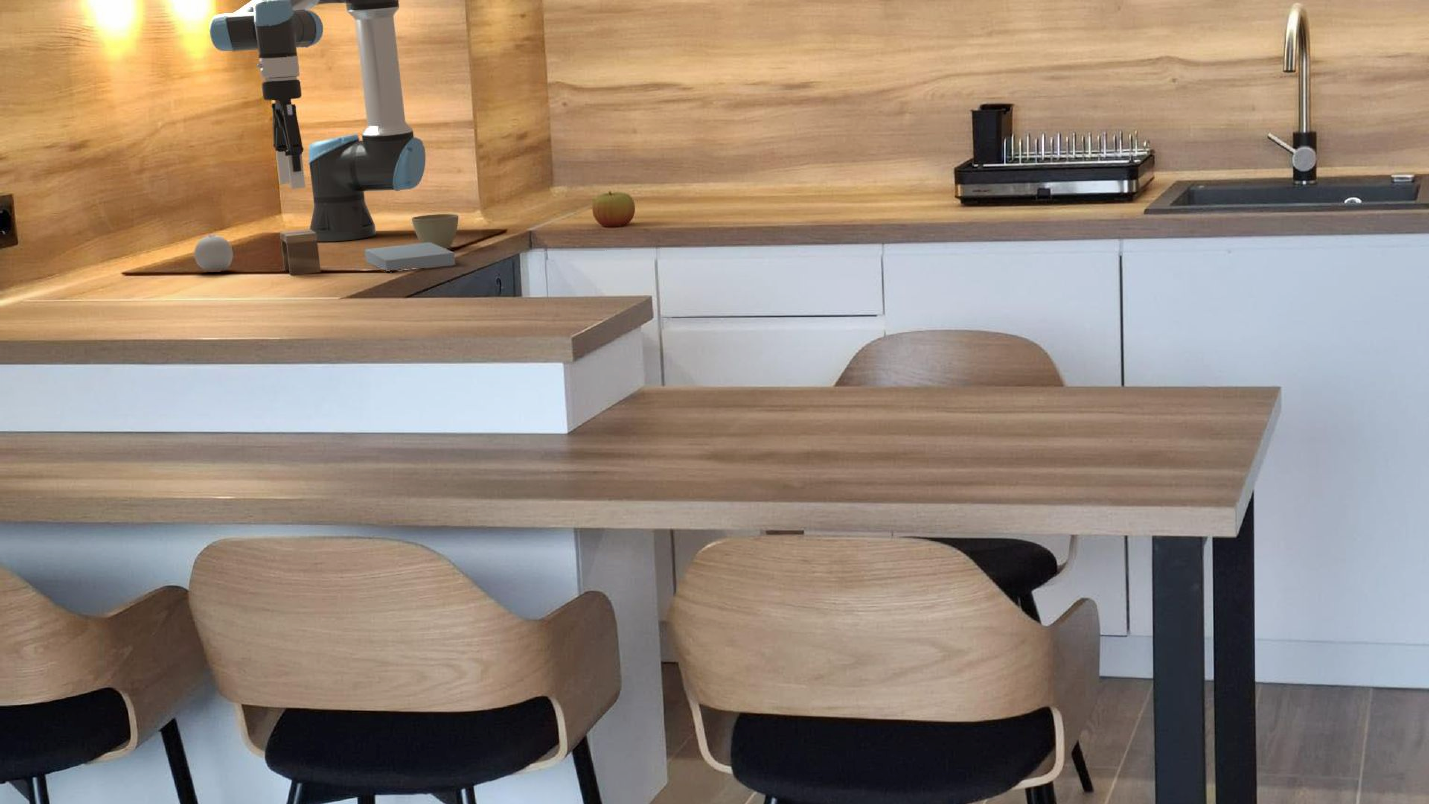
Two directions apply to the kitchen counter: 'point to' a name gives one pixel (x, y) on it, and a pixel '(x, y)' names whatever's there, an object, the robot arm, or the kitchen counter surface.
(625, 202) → the apple
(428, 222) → the flower pot
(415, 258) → the plinth
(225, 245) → the grey ball
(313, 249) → the stool
